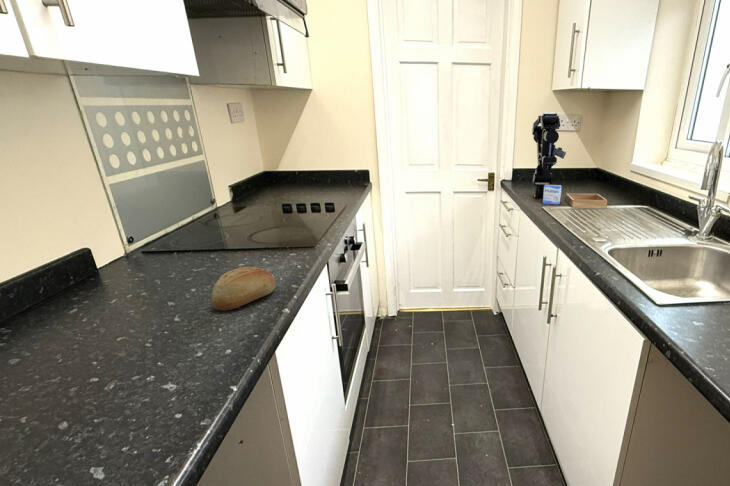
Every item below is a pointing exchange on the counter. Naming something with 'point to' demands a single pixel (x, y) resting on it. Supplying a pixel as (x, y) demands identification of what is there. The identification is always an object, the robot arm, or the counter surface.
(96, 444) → the counter surface
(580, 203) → the wooden tray
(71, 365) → the counter surface
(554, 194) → the medicine box
